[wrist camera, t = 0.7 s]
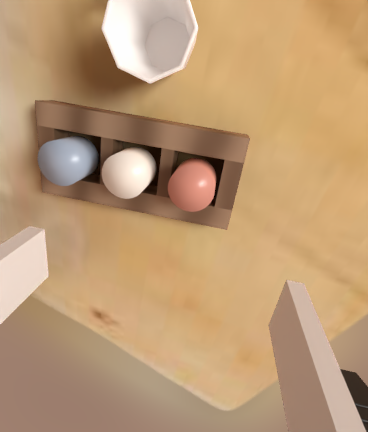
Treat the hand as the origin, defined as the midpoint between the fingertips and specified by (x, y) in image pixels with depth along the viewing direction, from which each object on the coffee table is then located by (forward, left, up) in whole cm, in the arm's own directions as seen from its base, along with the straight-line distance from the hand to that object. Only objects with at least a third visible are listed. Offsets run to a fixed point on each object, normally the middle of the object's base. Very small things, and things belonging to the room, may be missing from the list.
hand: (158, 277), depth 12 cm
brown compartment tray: (-5, -5, -20) cm, 21 cm away
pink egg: (0, 0, -17) cm, 17 cm away
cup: (-13, +4, -20) cm, 24 cm away
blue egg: (-9, -9, -17) cm, 22 cm away
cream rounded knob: (-5, -5, -17) cm, 19 cm away
